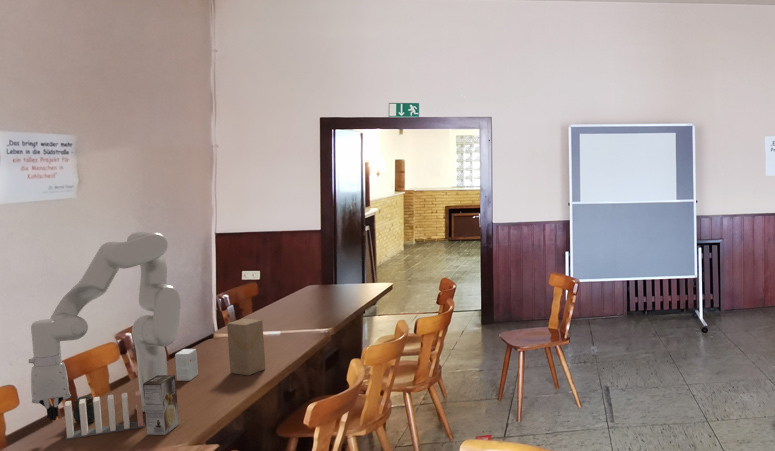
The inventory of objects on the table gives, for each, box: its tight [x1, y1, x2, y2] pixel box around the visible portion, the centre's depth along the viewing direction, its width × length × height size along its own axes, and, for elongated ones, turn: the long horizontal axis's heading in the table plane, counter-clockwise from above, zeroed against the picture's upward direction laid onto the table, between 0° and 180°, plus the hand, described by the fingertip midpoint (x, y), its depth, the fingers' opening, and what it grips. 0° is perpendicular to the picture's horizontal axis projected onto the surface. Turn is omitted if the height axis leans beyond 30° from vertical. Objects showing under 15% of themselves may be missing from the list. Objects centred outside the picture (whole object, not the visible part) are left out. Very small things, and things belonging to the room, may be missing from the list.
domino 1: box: [63, 400, 75, 438], centre depth 222 cm, size 5×2×10 cm, turn 20°
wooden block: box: [226, 318, 267, 376], centre depth 285 cm, size 10×10×20 cm
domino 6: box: [134, 390, 144, 427], centre depth 229 cm, size 5×2×10 cm, turn 20°
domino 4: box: [107, 394, 117, 431], centre depth 226 cm, size 5×2×10 cm, turn 20°
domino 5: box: [121, 392, 131, 429], centre depth 227 cm, size 5×2×10 cm, turn 20°
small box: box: [174, 348, 199, 382], centre depth 281 cm, size 8×6×10 cm
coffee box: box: [143, 374, 180, 436], centre depth 223 cm, size 9×6×16 cm
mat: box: [65, 419, 146, 441], centre depth 226 cm, size 6×23×1 cm, turn 110°
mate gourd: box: [70, 393, 95, 425], centre depth 234 cm, size 7×8×10 cm
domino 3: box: [93, 396, 103, 433], centre depth 225 cm, size 5×2×10 cm, turn 20°
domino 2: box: [79, 399, 89, 436], centre depth 223 cm, size 5×2×10 cm, turn 19°
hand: (53, 419), depth 220 cm, fingers closed
